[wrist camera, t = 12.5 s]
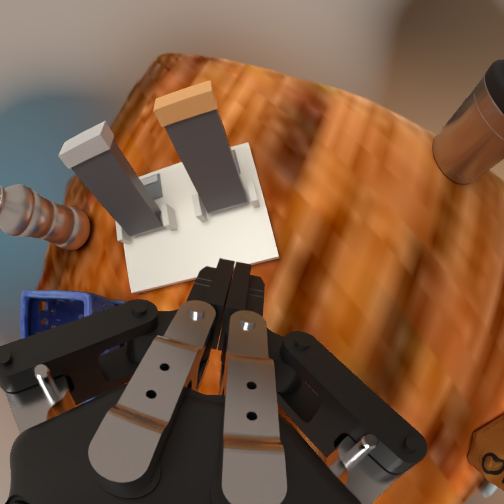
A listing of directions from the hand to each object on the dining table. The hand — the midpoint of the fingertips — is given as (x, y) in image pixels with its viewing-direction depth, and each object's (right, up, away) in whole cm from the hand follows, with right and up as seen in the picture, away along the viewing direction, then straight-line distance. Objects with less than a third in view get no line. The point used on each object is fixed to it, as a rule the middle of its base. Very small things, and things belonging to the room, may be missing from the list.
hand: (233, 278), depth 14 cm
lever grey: (-13, +5, +23) cm, 27 cm away
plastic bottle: (-27, +4, +28) cm, 39 cm away
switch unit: (-7, +6, +26) cm, 28 cm away
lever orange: (-2, +7, +22) cm, 24 cm away
